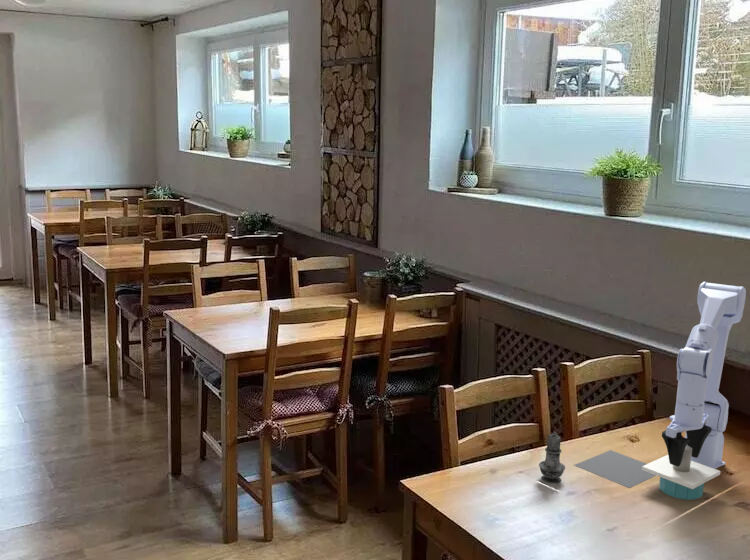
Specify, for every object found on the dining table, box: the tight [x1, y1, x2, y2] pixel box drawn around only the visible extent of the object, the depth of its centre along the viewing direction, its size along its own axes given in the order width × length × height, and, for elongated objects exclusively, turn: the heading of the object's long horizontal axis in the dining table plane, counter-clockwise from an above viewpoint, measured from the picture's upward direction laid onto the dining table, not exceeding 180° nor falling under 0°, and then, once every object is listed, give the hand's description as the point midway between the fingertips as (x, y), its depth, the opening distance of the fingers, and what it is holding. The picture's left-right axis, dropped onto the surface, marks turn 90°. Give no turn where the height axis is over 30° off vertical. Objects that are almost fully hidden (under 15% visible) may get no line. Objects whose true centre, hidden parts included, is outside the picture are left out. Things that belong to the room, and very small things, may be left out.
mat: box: [573, 449, 657, 489], centre depth 188 cm, size 15×15×1 cm
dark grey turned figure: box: [538, 430, 566, 486], centre depth 180 cm, size 6×6×12 cm
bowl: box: [658, 477, 705, 501], centre depth 177 cm, size 9×9×4 cm
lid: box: [642, 445, 722, 489], centre depth 176 cm, size 12×12×6 cm
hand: (683, 460), depth 176 cm, fingers open, 7 cm apart
